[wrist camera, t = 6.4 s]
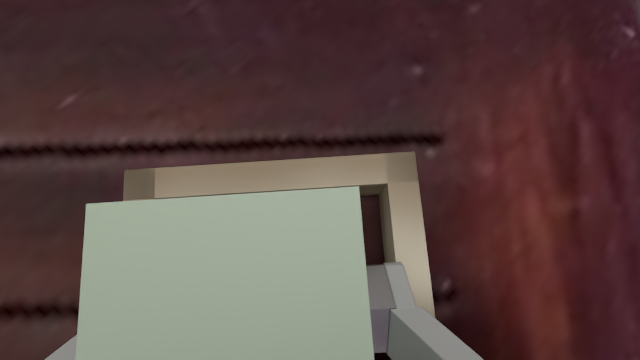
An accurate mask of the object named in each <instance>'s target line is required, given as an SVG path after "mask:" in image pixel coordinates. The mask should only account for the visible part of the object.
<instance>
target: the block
mask: <svg viewBox="0 0 640 360" xmlns="http://www.w3.org/2000/svg"><path fill="white" fill-rule="evenodd" d="M75 360H374V349H373V338H372V327H371V316H370V304H369V293H368V282H367V271H366V259H365V248H364V237H363V226H362V214H361V203H360V192H359V186H355V187H340V188H324V189H309V190H293V191H278V192H262V193H247V194H231V195H216V196H200V197H185V198H169V199H154V200H138V201H123V202H107V203H92V204H86V215H85V229H84V244H83V258H82V273H81V287H80V301H79V316H78V330H77V344H76V359H75Z"/></svg>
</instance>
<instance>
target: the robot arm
mask: <svg viewBox="0 0 640 360" xmlns="http://www.w3.org/2000/svg"><path fill="white" fill-rule="evenodd" d="M366 271H367V282H368V293H369V304H370V316H371V327H372V338H373V349H374V353H386V352H387V354H388V356H389V357H390V358H391V359H392V360H484V359H482V358H481V357H480V356H479V355H478V354H477V353H475V352H474V351H473V350H472V349H471V348H470V347H468V346H467V345H466V344H465V343H464V342H463V341H461V340H460V339H459V338H458V337H457V336H455V335H454V334H453V333H452V332H451V331H450V330H448V329H447V328H446V327H445V326H444V325H443V324H441V323H440V322H439V321H438V320H437V319H435V318H434V317H433V316H432V315H431V314H430V313H428V312H427V311H426V310H425V309H424V308H423V307H417V306H416V303H415V300H414V297H413V294H412V291H411V288H410V285H409V282H408V278H407V275H406V272H405V269H404V266H403V264H402V263H401V262H390V263H376V264H366ZM76 344H77V335H76V336H74V337H73V338H72V339H70V340H69V341H68V342H67V343H65V344H64V345H63V346H61V347H60V348H59V349H58V350H56V351H55V352H54V353H52V354H51V355H50V356H49V357H47V358H46V359H45V360H75V359H76Z"/></svg>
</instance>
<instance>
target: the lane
mask: <svg viewBox="0 0 640 360" xmlns="http://www.w3.org/2000/svg"><path fill="white" fill-rule="evenodd" d="M355 186H359V192H360V196H367V195H378V199H379V209H380V219H381V229H382V239H383V249H384V259H385V263H390V262H401V263H402V264H403V266H404V269H405V272H406V275H407V278H408V282H409V285H410V288H411V291H412V294H413V297H414V300H415V303H416V306H417V307H423V308H424V309H425V310H426V311H427V312H428V313H430V314H431V315H432V316H433V317H434V318H435V311H434V303H433V295H432V287H431V279H430V271H429V263H428V255H427V247H426V238H425V230H424V222H423V214H422V206H421V198H420V190H419V182H418V174H417V166H416V158H415V152H401V153H386V154H370V155H354V156H339V157H323V158H307V159H291V160H276V161H260V162H244V163H229V164H213V165H197V166H182V167H166V168H150V169H135V170H125V173H124V193H123V201H138V200H154V199H169V198H185V197H200V196H216V195H231V194H247V193H262V192H278V191H293V190H309V189H324V188H340V187H355Z"/></svg>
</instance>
